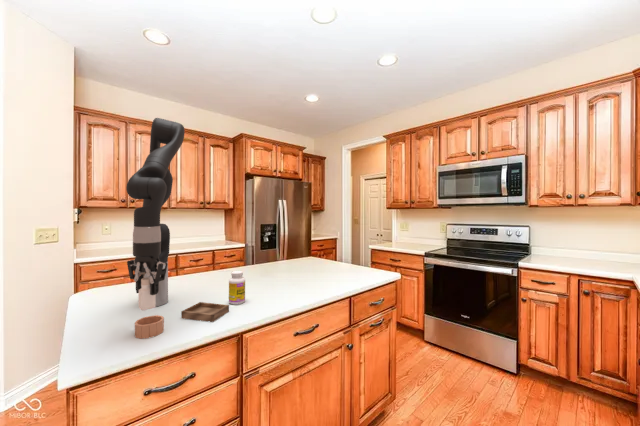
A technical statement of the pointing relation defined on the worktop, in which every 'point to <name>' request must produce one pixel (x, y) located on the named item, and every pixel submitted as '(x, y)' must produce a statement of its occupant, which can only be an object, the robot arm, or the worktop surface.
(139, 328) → the collar
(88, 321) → the worktop surface
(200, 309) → the tray
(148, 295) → the salt shaker
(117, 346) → the worktop surface
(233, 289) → the supplement bottle
